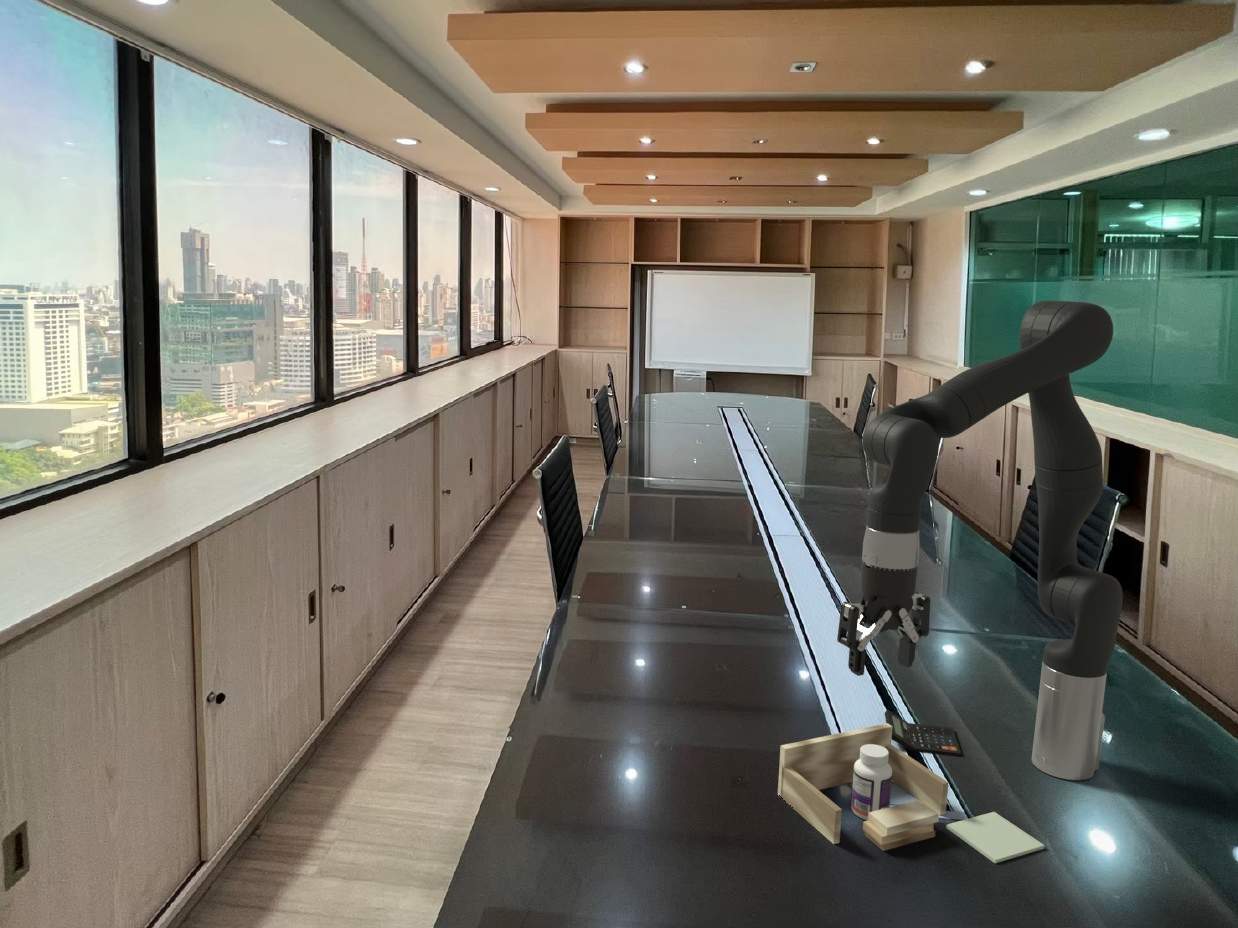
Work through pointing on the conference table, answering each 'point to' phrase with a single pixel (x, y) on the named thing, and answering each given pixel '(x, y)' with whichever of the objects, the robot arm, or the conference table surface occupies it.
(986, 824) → the sage mat
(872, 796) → the pill bottle
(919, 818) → the offcut stack
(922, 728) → the calculator
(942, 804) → the enclosure
